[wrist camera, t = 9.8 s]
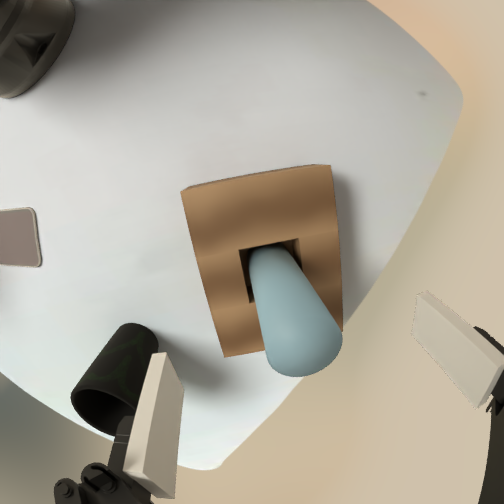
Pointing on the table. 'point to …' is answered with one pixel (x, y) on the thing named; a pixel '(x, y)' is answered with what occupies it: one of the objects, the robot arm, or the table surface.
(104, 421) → the cup
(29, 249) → the smartphone
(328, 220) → the bore block
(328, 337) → the pin
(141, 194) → the table surface
